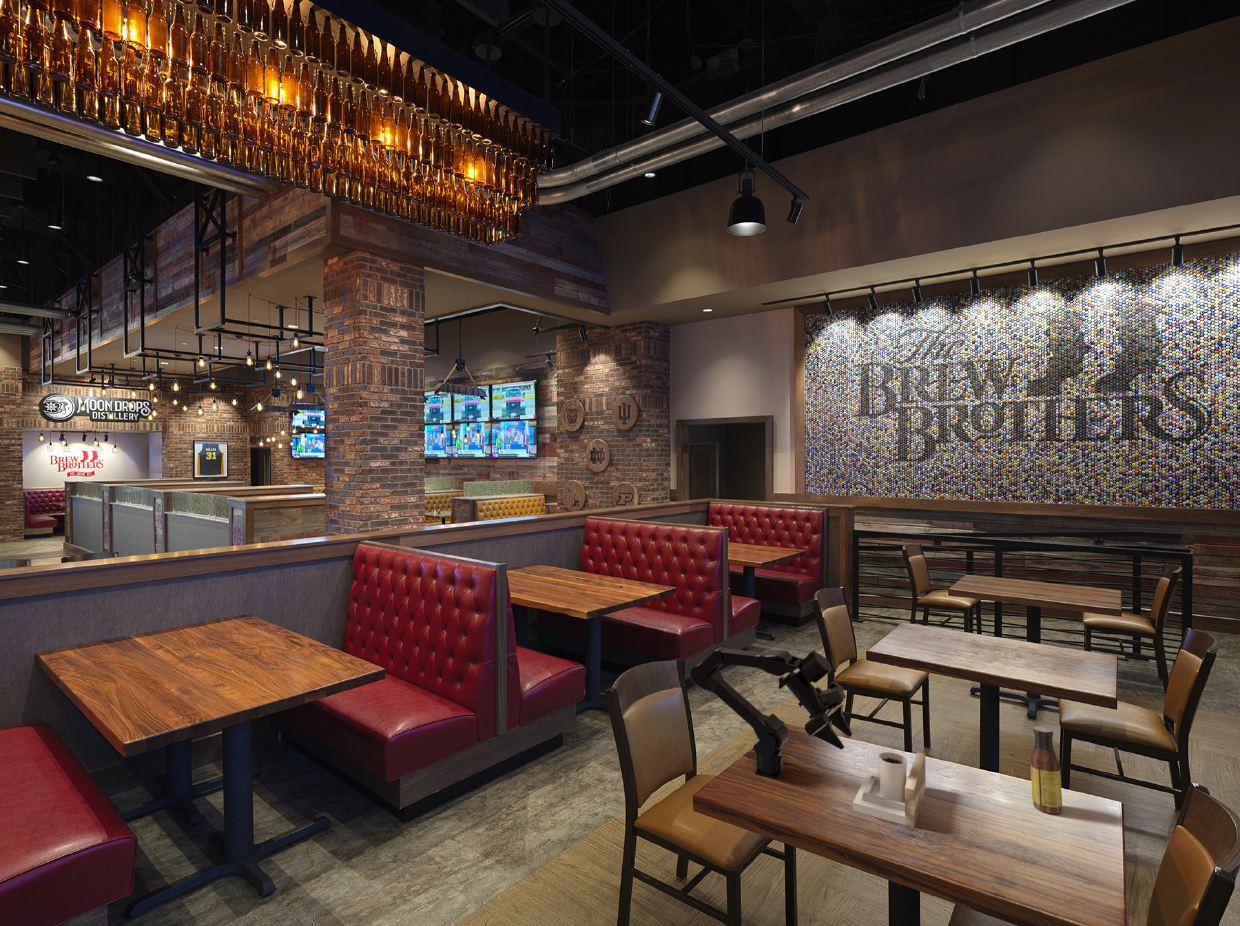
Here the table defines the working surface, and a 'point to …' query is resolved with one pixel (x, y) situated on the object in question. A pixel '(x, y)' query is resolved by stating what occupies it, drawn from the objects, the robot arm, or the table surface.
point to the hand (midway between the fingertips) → (847, 741)
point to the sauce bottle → (1045, 773)
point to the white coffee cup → (892, 776)
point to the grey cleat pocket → (877, 800)
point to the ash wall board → (915, 790)
